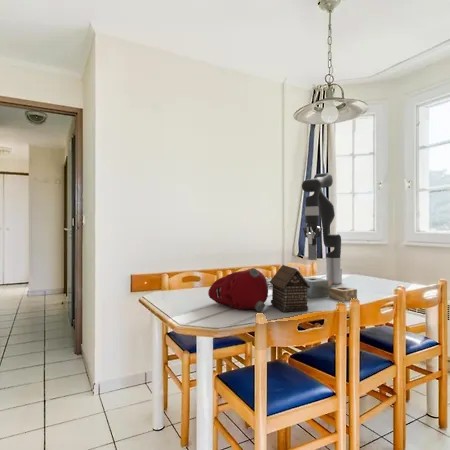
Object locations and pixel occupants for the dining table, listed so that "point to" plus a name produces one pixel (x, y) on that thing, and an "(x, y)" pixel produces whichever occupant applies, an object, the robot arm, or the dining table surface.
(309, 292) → the grey tissue box
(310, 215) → the robot arm
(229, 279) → the mask
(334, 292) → the brown square box
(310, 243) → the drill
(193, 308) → the dining table surface
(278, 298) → the model building
